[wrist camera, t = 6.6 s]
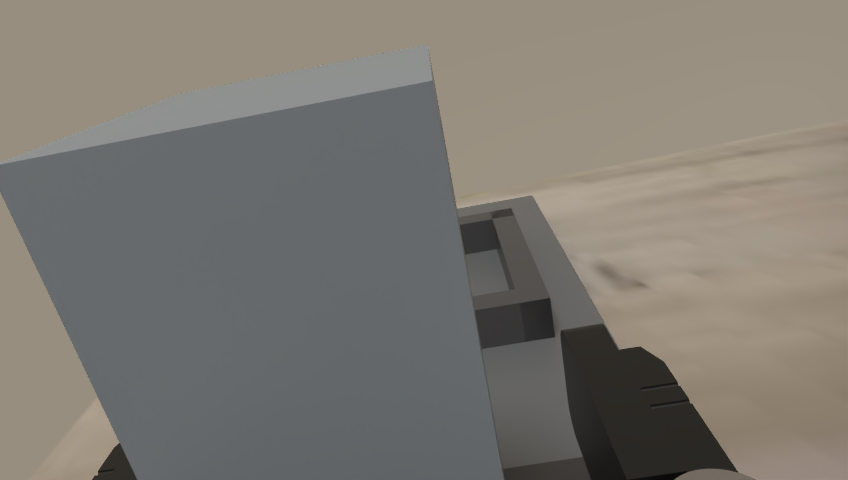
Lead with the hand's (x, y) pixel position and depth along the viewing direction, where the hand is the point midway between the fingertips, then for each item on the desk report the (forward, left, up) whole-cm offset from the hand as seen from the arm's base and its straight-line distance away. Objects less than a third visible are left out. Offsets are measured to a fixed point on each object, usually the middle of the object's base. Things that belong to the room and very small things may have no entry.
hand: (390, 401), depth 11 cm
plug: (0, +2, -6) cm, 6 cm away
